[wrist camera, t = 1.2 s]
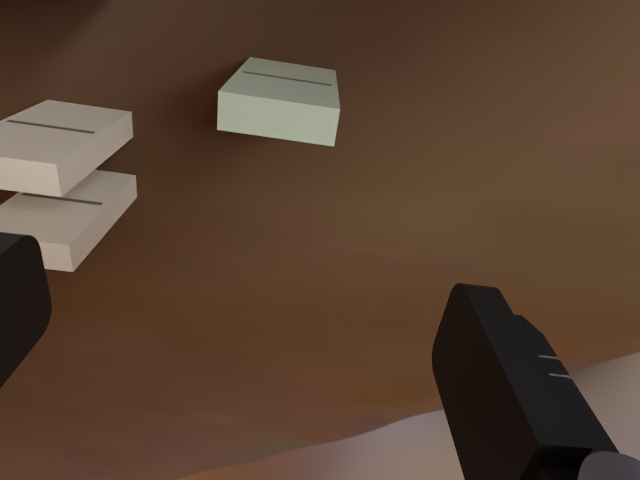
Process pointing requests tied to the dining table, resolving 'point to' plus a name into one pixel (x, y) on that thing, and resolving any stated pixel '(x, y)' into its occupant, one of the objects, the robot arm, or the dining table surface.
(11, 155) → the domino
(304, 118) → the domino
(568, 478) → the robot arm
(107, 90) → the dining table surface
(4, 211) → the domino
